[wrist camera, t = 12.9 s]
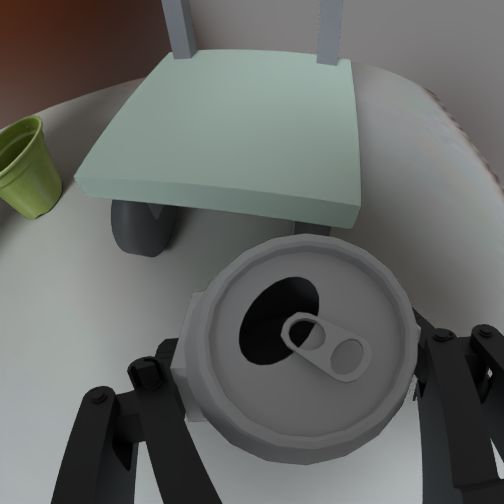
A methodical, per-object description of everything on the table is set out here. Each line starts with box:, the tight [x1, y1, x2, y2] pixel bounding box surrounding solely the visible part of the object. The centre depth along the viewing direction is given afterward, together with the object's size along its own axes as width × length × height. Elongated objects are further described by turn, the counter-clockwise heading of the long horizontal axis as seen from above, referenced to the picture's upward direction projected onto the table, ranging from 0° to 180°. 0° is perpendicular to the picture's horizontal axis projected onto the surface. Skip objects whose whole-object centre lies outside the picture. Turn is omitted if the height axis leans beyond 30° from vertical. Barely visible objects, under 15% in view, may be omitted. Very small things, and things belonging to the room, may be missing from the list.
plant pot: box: [0, 116, 62, 219], centre depth 25 cm, size 9×9×9 cm
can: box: [184, 234, 418, 465], centre depth 13 cm, size 8×8×12 cm
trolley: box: [74, 0, 361, 257], centre depth 17 cm, size 16×18×23 cm
